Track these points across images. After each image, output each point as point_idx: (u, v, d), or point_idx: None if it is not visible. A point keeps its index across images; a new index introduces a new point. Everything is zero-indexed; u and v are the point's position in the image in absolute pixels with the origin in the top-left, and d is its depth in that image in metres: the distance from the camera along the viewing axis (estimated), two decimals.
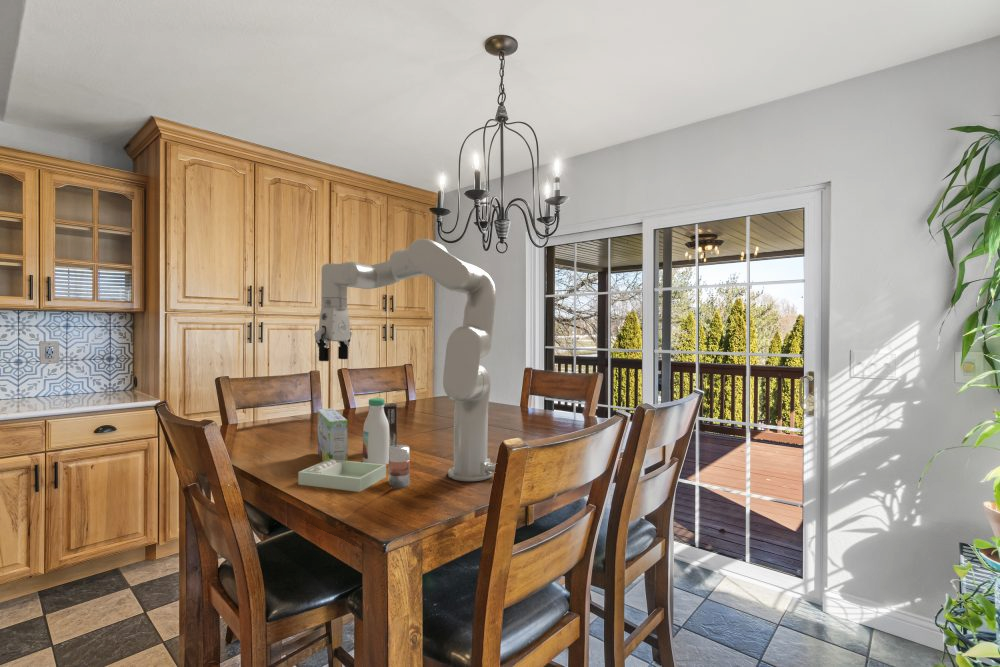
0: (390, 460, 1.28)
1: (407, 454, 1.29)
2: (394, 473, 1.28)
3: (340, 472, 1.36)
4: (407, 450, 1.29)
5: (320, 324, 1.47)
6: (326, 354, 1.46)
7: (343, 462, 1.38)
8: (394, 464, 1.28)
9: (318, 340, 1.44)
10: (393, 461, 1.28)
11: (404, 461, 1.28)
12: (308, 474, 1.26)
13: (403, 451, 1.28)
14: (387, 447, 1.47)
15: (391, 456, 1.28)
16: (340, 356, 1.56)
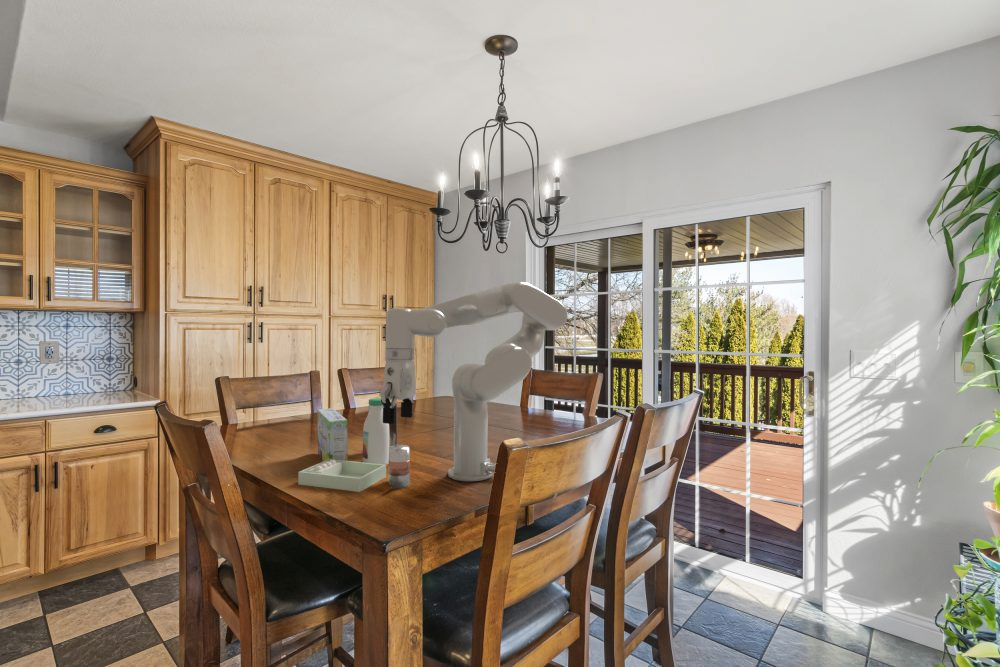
0: (390, 460, 1.28)
1: (407, 454, 1.29)
2: (394, 473, 1.28)
3: (340, 472, 1.36)
4: (407, 450, 1.29)
5: (385, 380, 1.26)
6: (392, 415, 1.25)
7: (343, 462, 1.38)
8: (394, 464, 1.28)
9: (384, 400, 1.22)
10: (393, 461, 1.28)
11: (403, 461, 1.28)
12: (308, 474, 1.26)
13: (403, 451, 1.28)
14: (387, 447, 1.47)
15: (391, 456, 1.28)
16: (403, 414, 1.34)
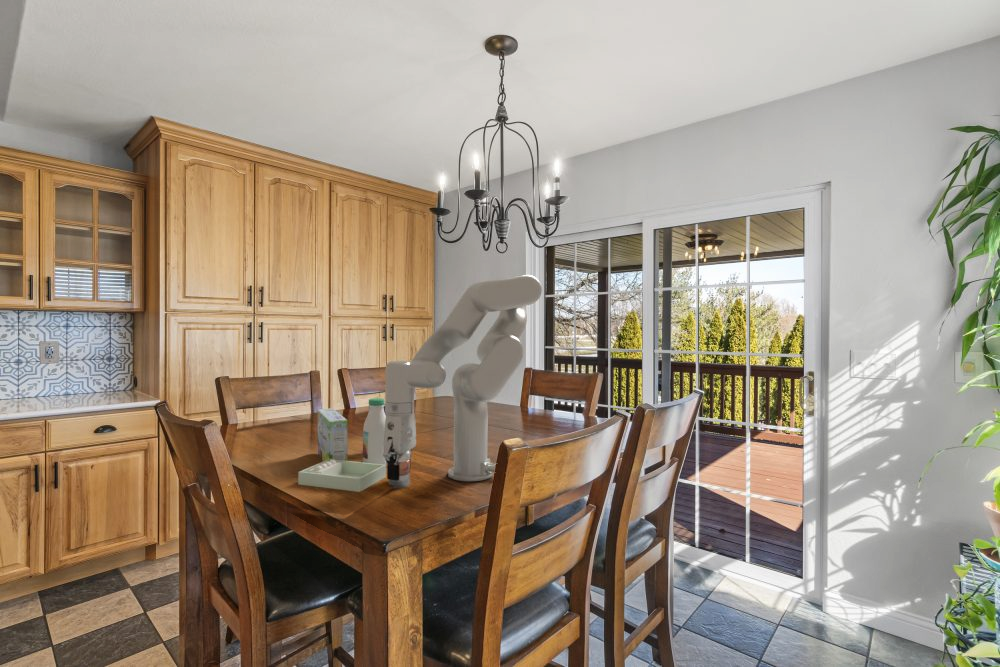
0: None
1: (407, 454, 1.29)
2: None
3: (340, 472, 1.36)
4: None
5: (385, 434, 1.26)
6: (396, 472, 1.27)
7: (343, 462, 1.38)
8: None
9: None
10: None
11: (403, 461, 1.28)
12: (308, 474, 1.26)
13: None
14: None
15: None
16: None
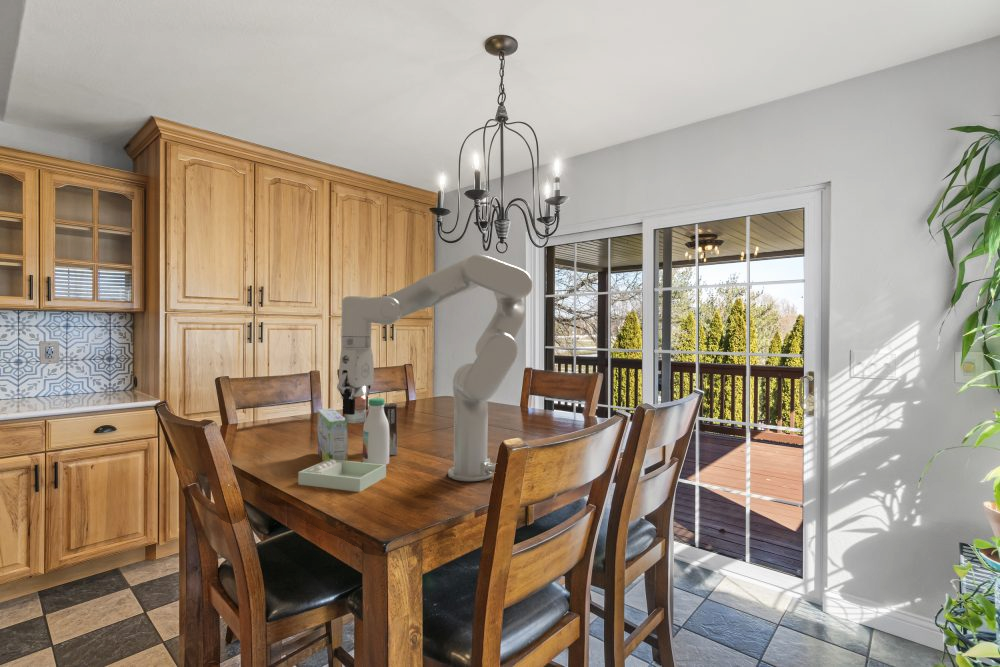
0: None
1: (363, 389, 1.28)
2: None
3: (340, 472, 1.36)
4: None
5: (340, 368, 1.25)
6: (351, 406, 1.26)
7: (343, 462, 1.38)
8: None
9: None
10: None
11: (359, 396, 1.28)
12: (308, 474, 1.26)
13: None
14: (387, 447, 1.47)
15: None
16: None
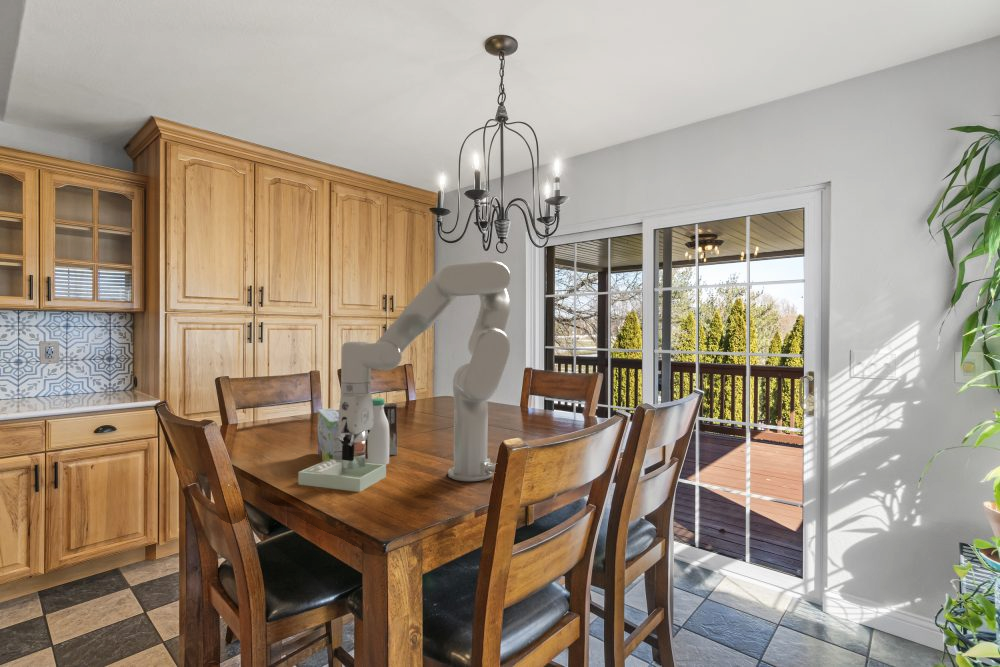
0: None
1: (362, 435, 1.29)
2: None
3: (340, 472, 1.36)
4: None
5: (340, 414, 1.26)
6: (351, 453, 1.26)
7: (343, 462, 1.38)
8: None
9: None
10: None
11: (359, 442, 1.28)
12: (308, 474, 1.26)
13: None
14: (387, 447, 1.47)
15: None
16: None
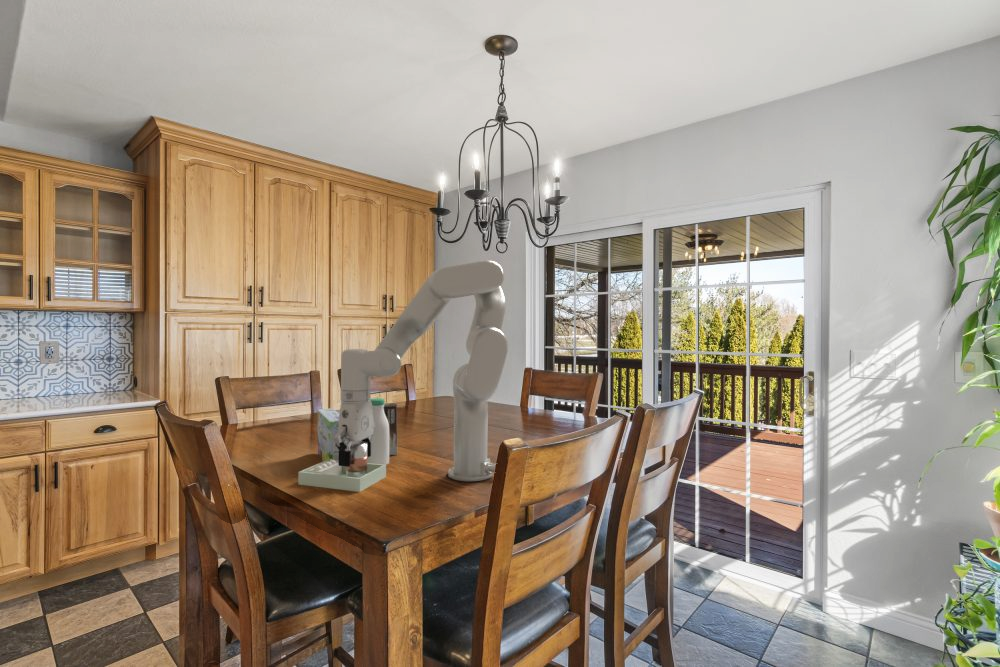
0: None
1: (364, 450, 1.29)
2: (351, 469, 1.28)
3: (340, 472, 1.36)
4: (365, 446, 1.29)
5: (340, 422, 1.26)
6: (347, 458, 1.25)
7: None
8: (351, 460, 1.27)
9: (338, 444, 1.22)
10: None
11: (361, 458, 1.28)
12: (308, 474, 1.26)
13: (360, 447, 1.28)
14: (387, 447, 1.47)
15: None
16: None
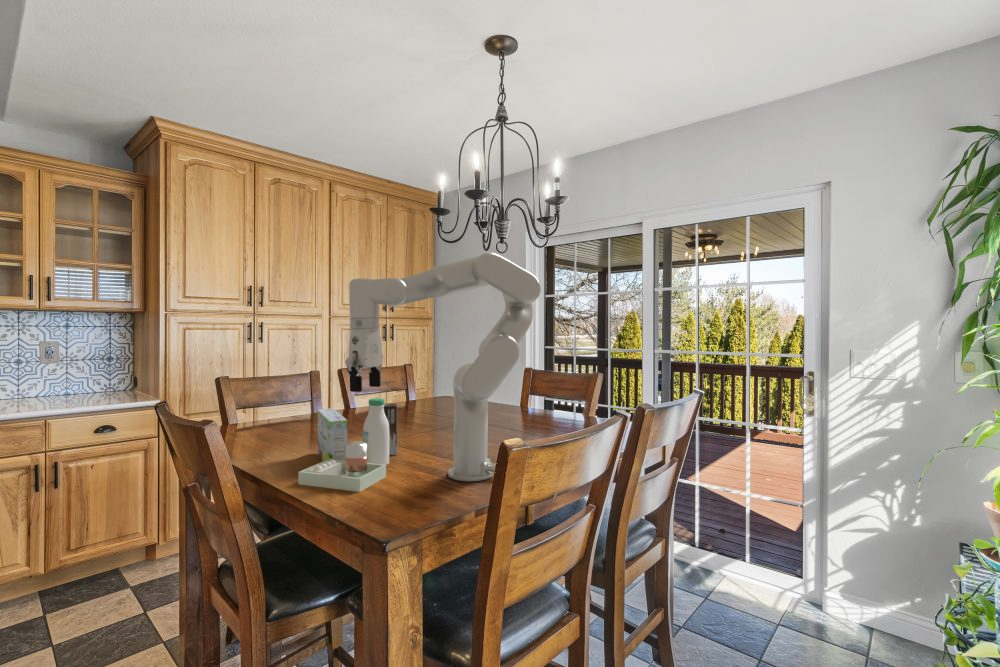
0: (347, 456, 1.28)
1: (364, 450, 1.29)
2: (351, 469, 1.28)
3: (340, 472, 1.36)
4: (364, 446, 1.29)
5: (350, 349, 1.27)
6: (359, 383, 1.27)
7: (343, 462, 1.38)
8: (351, 460, 1.28)
9: (350, 368, 1.24)
10: (350, 457, 1.28)
11: (361, 457, 1.28)
12: (308, 474, 1.26)
13: (360, 447, 1.28)
14: (387, 447, 1.47)
15: (348, 452, 1.28)
16: (372, 383, 1.37)
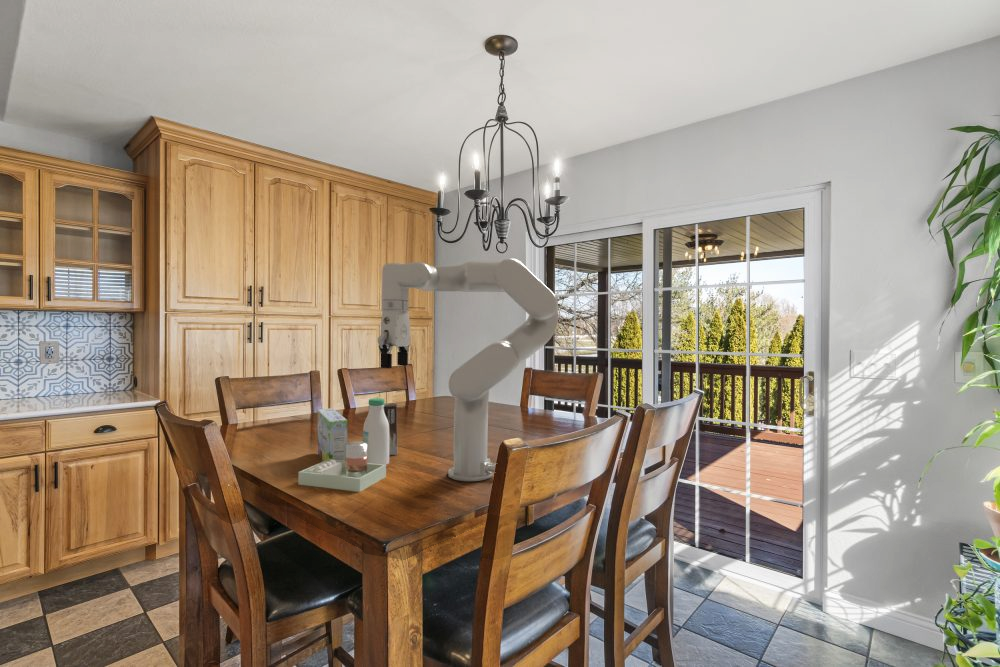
0: (347, 456, 1.28)
1: (365, 450, 1.29)
2: (351, 469, 1.28)
3: (340, 472, 1.36)
4: (365, 446, 1.29)
5: (382, 328, 1.37)
6: (389, 360, 1.36)
7: (343, 462, 1.38)
8: (351, 460, 1.28)
9: (381, 346, 1.34)
10: (350, 457, 1.28)
11: (361, 457, 1.28)
12: (308, 474, 1.26)
13: (360, 447, 1.28)
14: (387, 447, 1.47)
15: (348, 452, 1.28)
16: (399, 362, 1.46)
